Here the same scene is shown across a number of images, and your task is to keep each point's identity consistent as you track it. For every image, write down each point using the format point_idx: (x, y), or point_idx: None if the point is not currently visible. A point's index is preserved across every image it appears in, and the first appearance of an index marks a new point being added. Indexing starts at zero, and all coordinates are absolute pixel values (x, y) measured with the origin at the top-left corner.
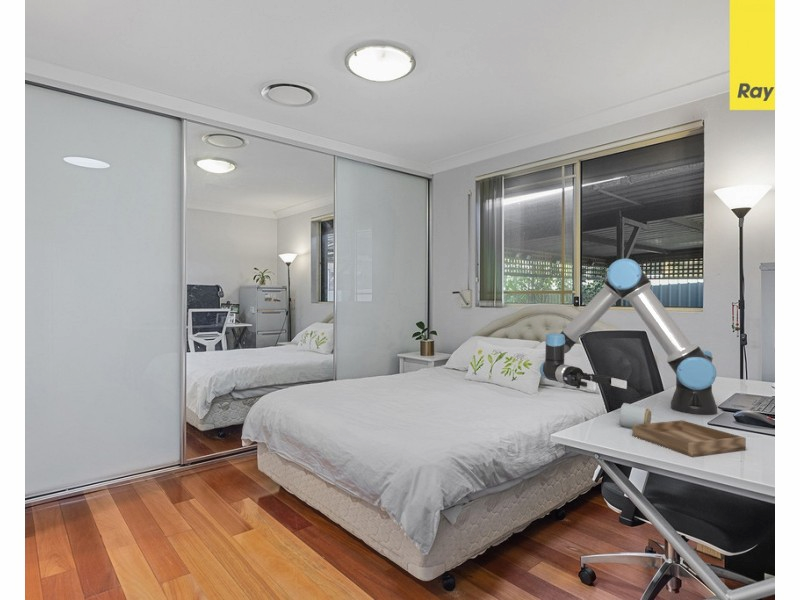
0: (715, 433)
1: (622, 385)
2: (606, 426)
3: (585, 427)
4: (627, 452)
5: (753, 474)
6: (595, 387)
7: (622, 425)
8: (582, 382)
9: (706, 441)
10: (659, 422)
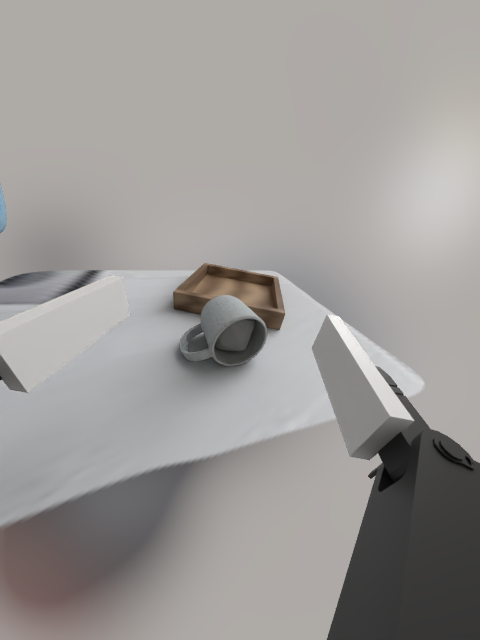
0: (200, 276)
1: (116, 310)
2: (279, 379)
3: None
4: (332, 313)
5: (264, 272)
6: (317, 337)
7: (250, 356)
8: (394, 386)
9: (256, 273)
10: None
